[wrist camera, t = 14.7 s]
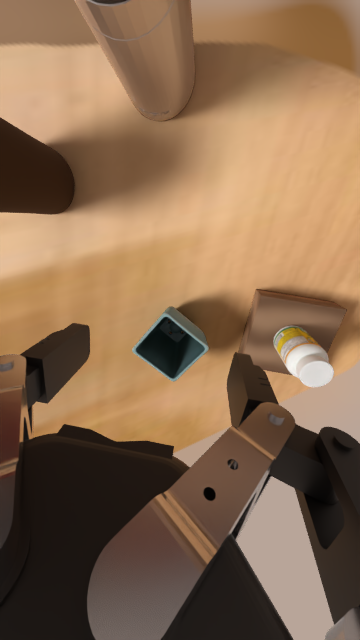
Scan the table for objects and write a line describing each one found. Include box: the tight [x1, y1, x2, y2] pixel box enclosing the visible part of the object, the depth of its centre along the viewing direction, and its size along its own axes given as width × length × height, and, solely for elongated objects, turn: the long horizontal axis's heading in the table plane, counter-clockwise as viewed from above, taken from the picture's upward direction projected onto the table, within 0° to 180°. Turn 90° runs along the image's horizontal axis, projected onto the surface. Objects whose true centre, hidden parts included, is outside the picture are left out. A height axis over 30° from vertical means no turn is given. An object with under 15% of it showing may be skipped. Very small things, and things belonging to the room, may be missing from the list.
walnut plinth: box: [238, 289, 347, 375], centre depth 38 cm, size 13×13×4 cm
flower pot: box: [132, 307, 209, 381], centre depth 38 cm, size 9×9×9 cm
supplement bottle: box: [273, 325, 334, 387], centre depth 32 cm, size 5×5×10 cm
